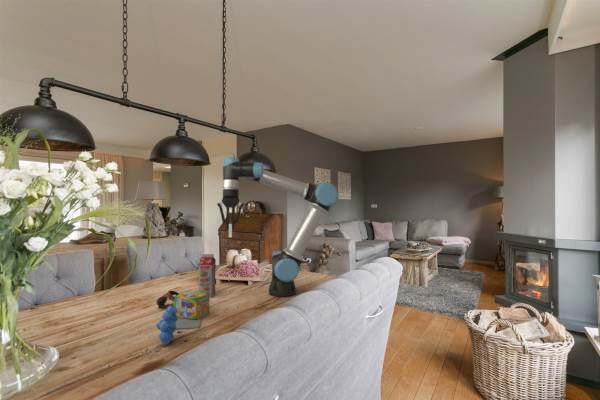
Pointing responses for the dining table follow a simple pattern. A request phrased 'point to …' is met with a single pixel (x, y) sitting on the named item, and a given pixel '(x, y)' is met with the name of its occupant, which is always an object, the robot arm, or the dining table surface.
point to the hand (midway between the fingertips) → (230, 237)
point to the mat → (187, 323)
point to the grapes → (167, 325)
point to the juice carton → (207, 274)
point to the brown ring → (163, 299)
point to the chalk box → (192, 305)
